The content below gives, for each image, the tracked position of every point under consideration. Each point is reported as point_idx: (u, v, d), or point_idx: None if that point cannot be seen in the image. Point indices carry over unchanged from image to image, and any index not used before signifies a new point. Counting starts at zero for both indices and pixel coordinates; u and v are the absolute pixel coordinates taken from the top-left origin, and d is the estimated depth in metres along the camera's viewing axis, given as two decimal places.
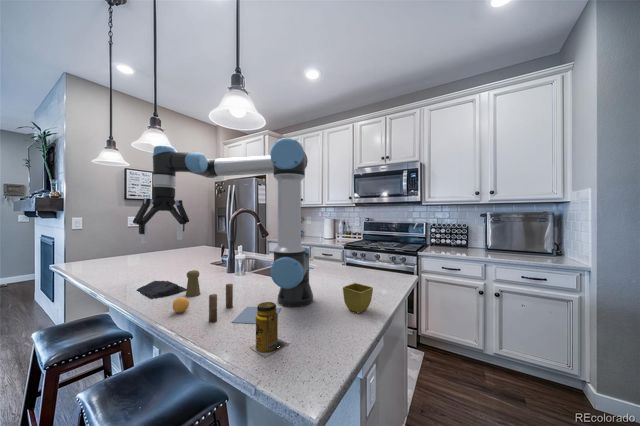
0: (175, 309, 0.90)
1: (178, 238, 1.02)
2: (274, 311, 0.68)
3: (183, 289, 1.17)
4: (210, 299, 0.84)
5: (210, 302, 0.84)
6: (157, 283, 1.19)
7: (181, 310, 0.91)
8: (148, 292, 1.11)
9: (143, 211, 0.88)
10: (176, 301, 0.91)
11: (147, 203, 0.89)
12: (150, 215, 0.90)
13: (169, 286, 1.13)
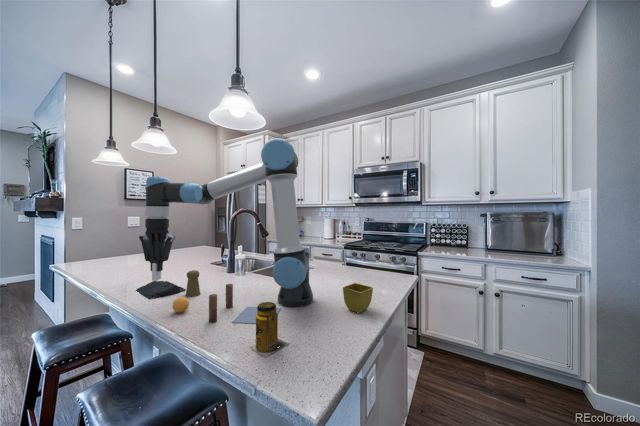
0: (175, 309, 0.90)
1: None
2: (274, 311, 0.68)
3: (182, 289, 1.17)
4: (210, 299, 0.84)
5: (210, 302, 0.84)
6: (156, 283, 1.19)
7: (181, 310, 0.91)
8: (147, 292, 1.11)
9: (143, 249, 0.93)
10: (176, 301, 0.91)
11: (141, 240, 0.93)
12: (150, 251, 0.92)
13: (168, 286, 1.13)
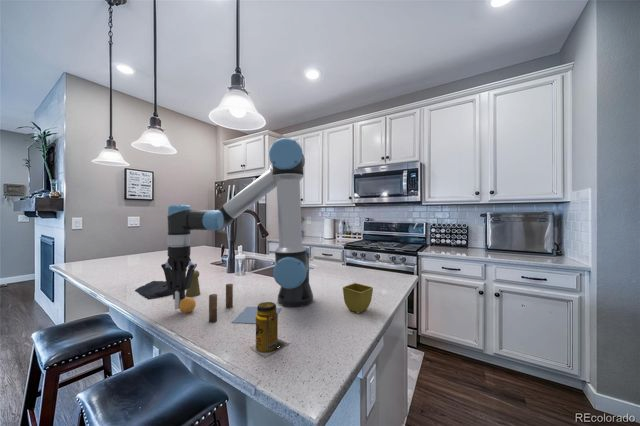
0: (181, 308, 0.90)
1: None
2: (274, 311, 0.68)
3: None
4: (210, 299, 0.84)
5: (210, 302, 0.84)
6: (155, 283, 1.19)
7: (185, 312, 0.91)
8: (146, 292, 1.11)
9: (166, 277, 0.92)
10: (186, 301, 0.91)
11: (164, 269, 0.92)
12: (173, 279, 0.92)
13: None
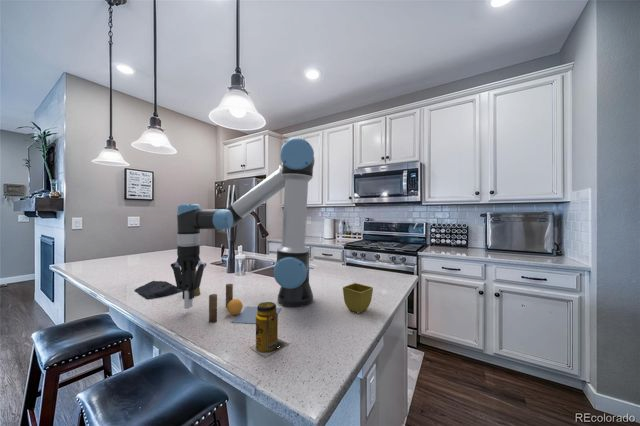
0: (229, 310, 0.89)
1: None
2: (274, 311, 0.68)
3: (180, 290, 1.17)
4: (210, 299, 0.84)
5: (210, 302, 0.84)
6: (154, 283, 1.19)
7: (232, 314, 0.89)
8: (145, 292, 1.11)
9: (175, 276, 0.92)
10: (235, 304, 0.89)
11: (173, 268, 0.92)
12: (182, 279, 0.91)
13: (166, 287, 1.12)
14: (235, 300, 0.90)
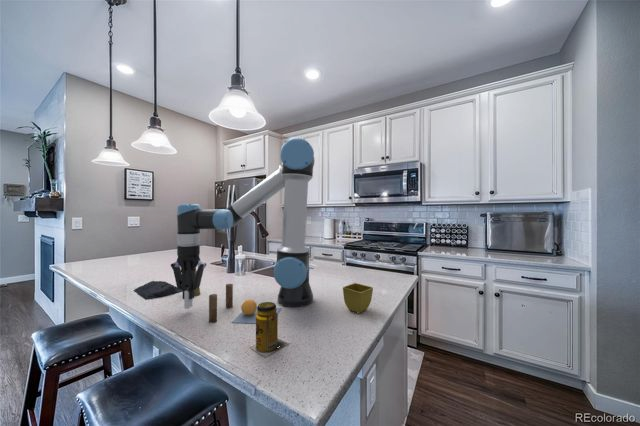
0: (246, 307, 0.88)
1: None
2: (274, 311, 0.68)
3: (179, 290, 1.16)
4: (210, 299, 0.84)
5: (210, 302, 0.84)
6: (154, 283, 1.18)
7: (242, 306, 0.89)
8: (144, 293, 1.11)
9: (175, 276, 0.92)
10: (250, 314, 0.89)
11: (173, 268, 0.92)
12: (182, 279, 0.91)
13: (165, 287, 1.12)
14: None
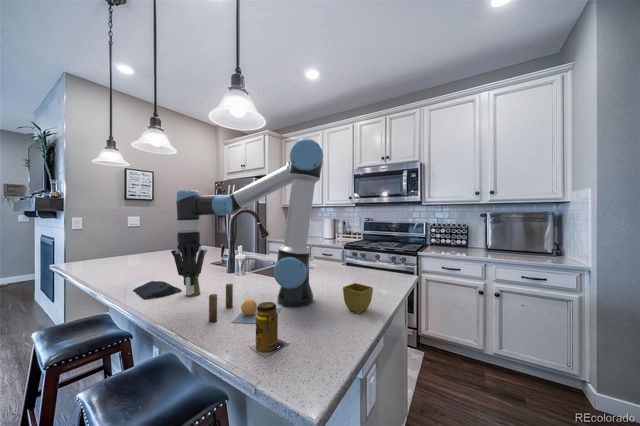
0: (246, 307, 0.88)
1: None
2: (274, 311, 0.68)
3: (178, 290, 1.16)
4: (210, 299, 0.84)
5: (210, 302, 0.84)
6: (153, 283, 1.18)
7: (242, 306, 0.89)
8: (143, 293, 1.10)
9: (176, 263, 0.92)
10: (250, 314, 0.89)
11: (174, 255, 0.92)
12: (183, 265, 0.91)
13: (163, 287, 1.12)
14: None
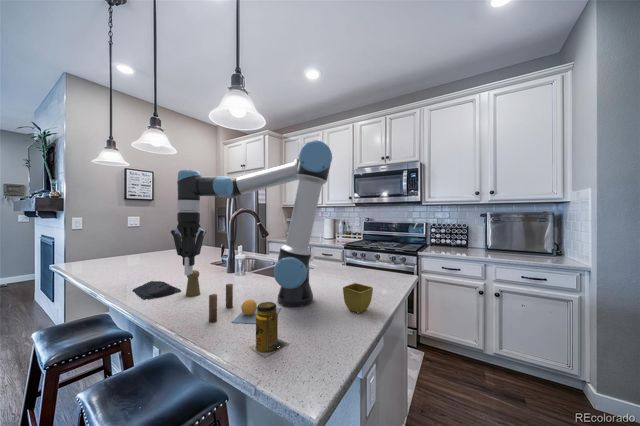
0: (246, 307, 0.88)
1: None
2: (274, 311, 0.68)
3: (177, 290, 1.16)
4: (210, 299, 0.84)
5: (210, 302, 0.84)
6: (152, 284, 1.18)
7: (242, 306, 0.89)
8: (142, 293, 1.10)
9: (175, 243, 0.92)
10: (250, 314, 0.89)
11: (173, 235, 0.92)
12: (182, 245, 0.91)
13: (163, 287, 1.12)
14: None
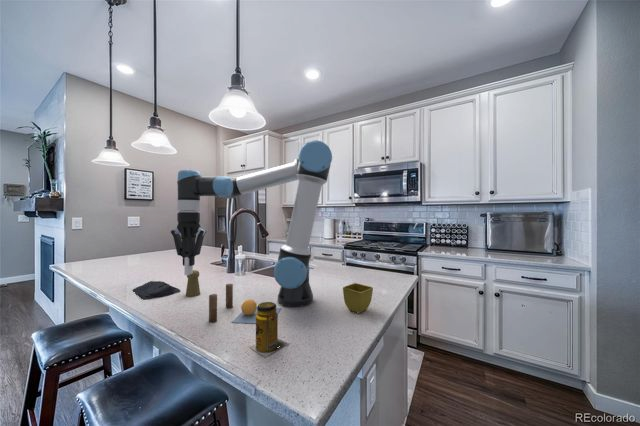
0: (246, 307, 0.88)
1: None
2: (274, 311, 0.68)
3: (177, 290, 1.16)
4: (210, 299, 0.84)
5: (210, 302, 0.84)
6: (152, 284, 1.18)
7: (242, 306, 0.89)
8: (141, 293, 1.10)
9: (175, 243, 0.92)
10: (250, 314, 0.89)
11: (173, 235, 0.92)
12: (182, 245, 0.91)
13: (162, 287, 1.12)
14: None
